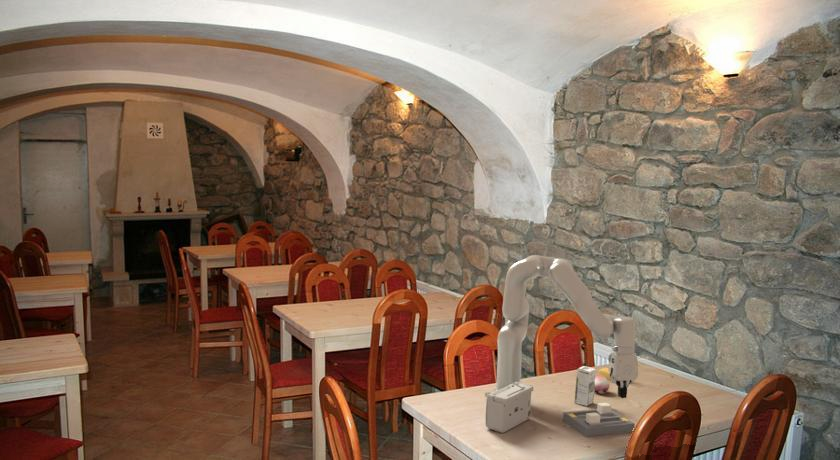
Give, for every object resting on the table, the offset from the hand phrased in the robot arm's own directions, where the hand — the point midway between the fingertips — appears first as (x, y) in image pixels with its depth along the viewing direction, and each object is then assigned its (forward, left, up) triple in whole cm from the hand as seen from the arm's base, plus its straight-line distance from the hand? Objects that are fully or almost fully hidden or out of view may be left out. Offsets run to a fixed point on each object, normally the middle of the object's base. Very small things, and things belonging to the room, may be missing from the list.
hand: (622, 396), depth 250 cm
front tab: (-17, -8, -6) cm, 20 cm away
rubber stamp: (+26, +43, -9) cm, 51 cm away
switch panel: (-12, -4, -9) cm, 16 cm away
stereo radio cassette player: (-44, +5, -9) cm, 46 cm away
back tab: (-7, 0, -6) cm, 9 cm away
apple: (+10, +28, -9) cm, 31 cm away
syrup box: (-4, +18, -9) cm, 21 cm away
